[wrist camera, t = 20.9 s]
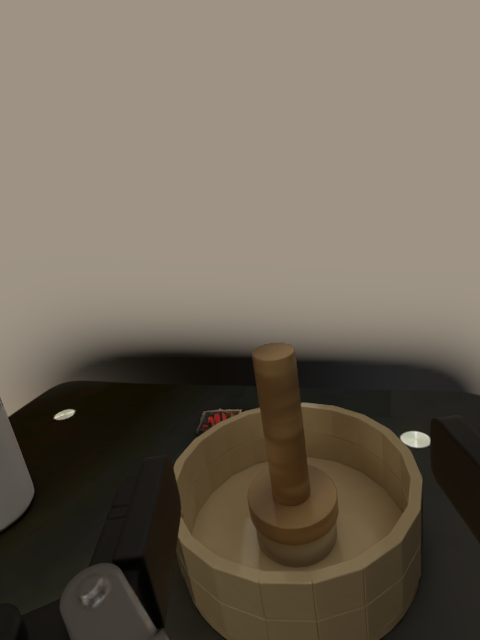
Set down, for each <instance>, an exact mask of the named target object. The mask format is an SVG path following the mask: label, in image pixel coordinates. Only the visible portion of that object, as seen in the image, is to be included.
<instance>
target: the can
mask: <svg viewBox="0 0 480 640" xmlns="http://www.w3.org/2000/svg"><path fill="white" fill-rule="evenodd" d="M33 496H34V486H33V483H32V480H31V478H30V475H29V472H28V469H27V467H26V464H25V461H24V459H23V456H22V453H21V451H20V448H19V445H18V443H17V440H16V437H15V435H14V432H13V430H12V427H11V424H10V422H9V419H8V416H7V414H6V411H5V409H4V406H3V403H2V401H1V398H0V533H1V532H3V531H4V530H6V529H7V528H8V527H10V526H11V525H13V524H14V523H15V522H16V521H17V520H19V519H20V518H21V516H22V515H23V514H24V513H25V511H26V510H27V508H28V507H29V505H30V503H31V500H32V498H33Z"/></svg>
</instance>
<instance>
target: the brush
mask: <svg viewBox="0 0 480 640" xmlns="http://www.w3.org/2000/svg"><path fill="white" fill-rule="evenodd" d="M252 357H253V365H254V371H255V378H256V385H257V392H258V398H259V405H260V412H261V419H262V425H263V432H264V439H265V446H266V452H267V459H268V466H269V469H267V470H265V471H263V472H262V473H261V474H259V475H258V476H257V477H256V478H255V479H254V481H253V482H252V484H251V485H250V488H249V490H248V505H249V511H250V517H251V520H252V523H253V525H254V527H255V528H256V532H257V538H258V542H259V545H260V547H261V549H262V550H263V552H264V553H265V554H266V555H267V556H268V557H269V558H271V559H272V560H273V561H275V562H277V563H279V564H282V565H285V566H290V567H305V566H310V565H313V564H315V563H317V562H319V561H321V560H323V559H324V558H325V557H326V556H327V555H328V554H329V553H330V552H331V551H332V549H333V548H334V545H335V543H336V539H337V525H336V520H337V517H338V512H339V508H338V496H337V489H336V486H335V484H334V482H333V480H332V479H331V478H330V477H329V476H328V475H327V474H326V473H325V472H324V471H322V470H321V469H319V468H317V467H314V466H312V465H308V464H307V455H306V446H305V437H304V428H303V419H302V410H301V401H300V392H299V383H298V374H297V365H296V356H295V349H294V347H293V346H292V345H289V344H286V343H270V344H265V345H262V346H260V347H258V348H256V349H255V350H254V351H253V353H252Z"/></svg>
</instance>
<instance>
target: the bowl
mask: <svg viewBox="0 0 480 640" xmlns="http://www.w3.org/2000/svg"><path fill="white" fill-rule="evenodd" d="M301 410H302V419H303V428H304V437H305V446H306V455H307V464H308V465H312V466H314V467H317V468H319V469H321V470H322V471H324V472H325V473H326V474H327V475H328V476H329V477H330V478H331V479H332V480H333V482H334V484H335V486H336V489H337V496H338V508H339V512H338V517H337V520H336V525H337V539H336V543H335V545H334V548H333V549H332V551H331V552H330V553H329V554H328V555H327V556H326V557H325V558H324V559H323V560H321V561H319V562H317V563H315V564H313V565H310V566H305V567H290V566H285V565H282V564H279V563H277V562H275V561H273V560H272V559H271V558H269V557H268V556H267V555H266V554H265V553H264V552H263V550H262V549H261V547H260V545H259V542H258V538H257V532H256V528H255V527H254V525H253V523H252V520H251V517H250V511H249V505H248V490H249V488H250V485H251V484H252V482H253V481H254V479H255V478H256V477H257V476H258V475H259V474H261V473H262V472H263V471H265V470H267V469H269V466H268V459H267V452H266V446H265V439H264V432H263V425H262V419H261V412H260V408H257V409H252V410H248V411H245V412H242V413H240V414H237V415H235V416H233V417H230V418H228V419H226V420H223V421H221V422H219V423H217V424H216V425H214V426H213V427H211V428H210V429H208V430H207V431H206V432H204V433H203V434H201V435H200V436H198V437H197V438H196V439H194V440H193V442H192V443H191V444H190V445H189V446H188V447H187V449H186V450H185V451H184V452H183V453H182V454H181V455H180V457H179V458H178V459H177V460H176V463H175V465H174V468H173V469H174V473H175V477H176V481H177V485H178V489H179V494H180V499H181V519H180V526H179V533H178V539H177V546H176V553H177V557H178V560H179V564H180V568H181V572H182V575H183V577H184V580H185V582H186V585H187V588H188V591H189V593H190V596H191V598H192V600H193V602H194V604H195V606H196V607H197V609H198V610H199V612H200V613H201V615H202V616H203V617H204V619H205V620H206V621H207V622H208V623H209V624H210V625H211V626H212V627H213V629H215V630H216V631H217V632H218V633H219V634H221V635H222V636H223V637H224V638H226V639H227V640H380V639H381V638H382V637H383V636H385V635H386V634H387V633H388V632H390V631H391V630H392V629H393V628H394V627H395V626H396V624H397V623H398V622H399V621H400V620H401V619H402V618H403V616H404V615H405V613H406V612H407V610H408V608H409V607H410V605H411V604H412V602H413V599H414V597H415V594H416V592H417V589H418V587H419V582H420V577H421V572H422V546H423V479H422V476H421V473H420V471H419V469H418V466H417V464H416V462H415V459H414V457H413V455H412V452H411V451H410V449H409V448H408V447H407V446H406V445H405V444H404V443H403V442H402V441H401V440H400V439H399V438H398V437H397V436H396V435H395V434H394V433H393V432H392V431H391V430H390V429H388V428H387V427H385V426H383V425H381V424H379V423H378V422H376V421H374V420H372V419H371V418H369V417H367V416H365V415H363V414H360V413H356V412H353V411H350V410H346V409H343V408H340V407H337V406H331V405H321V404H312V403H301Z"/></svg>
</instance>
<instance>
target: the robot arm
mask: <svg viewBox="0 0 480 640" xmlns="http://www.w3.org/2000/svg"><path fill="white" fill-rule="evenodd" d="M430 460H431V468H432V471H433V474H434V477H435V479H436V481H437V483H438V484H439V486H440V487H441V488H442V490H443V491H444V493H445V494H446V496H447V497H448V498H449V500H450V501H451V503H452V504H453V506H454V507H455V508H456V510H457V511H458V513H459V514H460V516H461V517H462V518H463V520H464V521H465V523H466V524H467V526H468V527H469V528H470V530H471V531H472V533H473V534H474V535H475V537H476V538H477V540H478V541H479V543H480V430H475V429H474V428H473V427H472V426H471V425H470V424H469V423H468V422H467V421H466V420H465V419H464V418H463V417H462V416H460V415H454V416H447V417H440V418H434V419H432V421H431V457H430ZM180 519H181V499H180V494H179V489H178V485H177V481H176V477H175V473H174V469H173V465H172V461H171V458H170V456H169V455H164V456H157V457H150V458H145V459H144V460H143V462H142V466H141V469H140V472H139V475H138V477H131V478H128V479H127V480H126V481H125V482H124V483H123V484H122V486H121V487H120V488H119V489H118V490H117V492H116V494H115V497H114V500H113V502H112V505H111V509H110V511H109V513H108V516H107V521H105V524H104V527H103V529H102V532H101V535H100V537H99V540H98V543H97V546H96V548H95V551H94V554H93V556H92V559H91V562H90V564H89V567H88V568H86V569H85V570H83V571H82V572H80V573H79V574H78V575H76V576H75V577H74V578H73V579H72V580H71V581H70V583H69V584H68V585H67V587H66V588H65V590H64V592H63V594H62V596H61V598H60V599H58V600H56V601H54V602H52V603H50V604H48V605H45V606H43V607H41V608H38V609H36V610H34V611H31V612H29V613H27V614H24V615H22V616H21V614H20V612H19V610H18V608H17V607H16V606H14V605H12V604H7V603H4V604H0V640H170V639H169V638H168V636H167V635H166V633H165V632H164V631H163V630H162V629H159V628H164V627H165V620H166V614H167V607H168V600H169V593H170V587H171V580H172V573H173V566H174V560H175V553H176V546H177V539H178V533H179V526H180ZM157 629H159V630H157Z"/></svg>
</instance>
